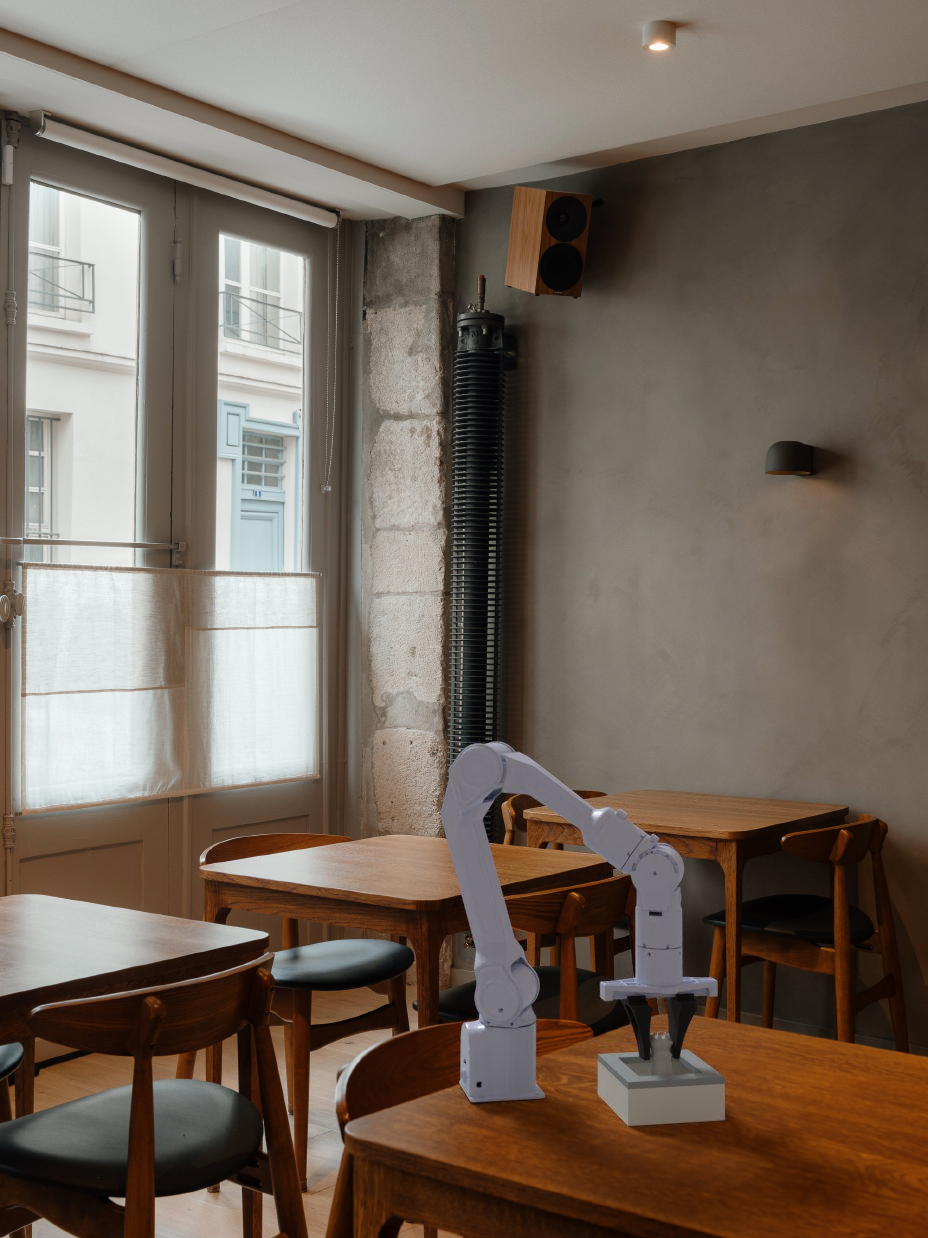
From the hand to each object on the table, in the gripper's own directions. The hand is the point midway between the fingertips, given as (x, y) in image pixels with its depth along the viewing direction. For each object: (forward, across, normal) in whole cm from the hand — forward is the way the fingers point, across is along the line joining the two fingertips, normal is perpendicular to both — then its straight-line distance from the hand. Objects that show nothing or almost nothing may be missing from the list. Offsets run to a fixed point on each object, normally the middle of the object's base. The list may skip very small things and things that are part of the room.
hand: (659, 1057), depth 155 cm
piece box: (+6, 0, 0) cm, 6 cm away
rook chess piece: (+5, 0, -1) cm, 5 cm away
